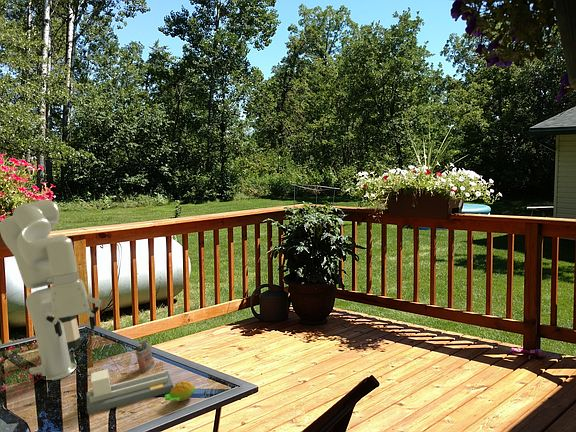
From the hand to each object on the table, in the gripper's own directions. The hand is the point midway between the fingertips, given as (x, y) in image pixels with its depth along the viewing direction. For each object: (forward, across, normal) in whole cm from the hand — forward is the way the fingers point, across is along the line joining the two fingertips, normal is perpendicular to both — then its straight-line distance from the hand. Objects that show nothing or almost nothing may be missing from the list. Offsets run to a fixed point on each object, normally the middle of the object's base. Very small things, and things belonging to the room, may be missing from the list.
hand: (76, 331), depth 170 cm
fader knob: (+21, +4, -1) cm, 22 cm away
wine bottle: (+22, -13, +55) cm, 61 cm away
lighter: (+24, +17, +18) cm, 34 cm away
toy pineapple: (+24, +28, -13) cm, 39 cm away
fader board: (+24, +12, 0) cm, 27 cm away
